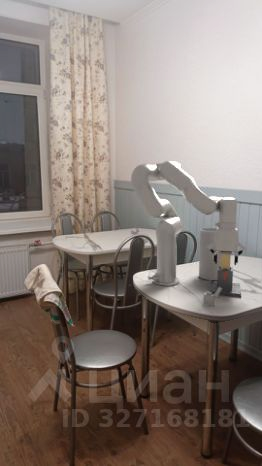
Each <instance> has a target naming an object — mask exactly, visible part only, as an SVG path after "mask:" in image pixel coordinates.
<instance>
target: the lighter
mask: <svg viewBox="0 0 262 466" xmlns="http://www.w3.org/2000/svg"><path fill="white" fill-rule="evenodd" d="M221 290H222V288H220V287H219V288H218V289H217V291H216V293H215V294H212V292H208V291H206V292H204V293H203V303H202V304H203V305H206V306H213V307H214V305H215V299H216V298H217V297H218V296H220V295H219V293H220V291H221Z"/></svg>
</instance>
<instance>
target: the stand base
mask: <svg viewBox="0 0 262 466" xmlns="http://www.w3.org/2000/svg"><path fill="white" fill-rule="evenodd" d="M233 279H234V267H233V266H230V270H228V269H225V268H223V270H221V266H218V275H217V280H216V281H214V280H209V283H208V291H207V292H212V294H215V293H216V291H217V289H218V288H219V287H220V288H222V290H221V291H220V293H219V295H218V296H224V297H236V298H242V289H241V283H236V282H233Z"/></svg>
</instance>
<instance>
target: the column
mask: <svg viewBox="0 0 262 466" xmlns="http://www.w3.org/2000/svg"><path fill="white" fill-rule="evenodd" d="M220 254H221V270H223V268H225V269H228V270H230V267H231V258H232V257H231V255H232V254H233V252H227V251H221V253H220Z"/></svg>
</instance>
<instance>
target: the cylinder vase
mask: <svg viewBox="0 0 262 466" xmlns="http://www.w3.org/2000/svg"><path fill="white" fill-rule="evenodd" d="M217 228H218V227H202V228H200V230H199V254H198V255H199V259H198V260H199V261H198V262H199V263H198V276H199V278H201V279H203V280H207V281H217V275H218V266H221V254H220V253H221V251H218V253H217V264H215V262H214V255H213V253H212V252H211V251H210V250H209V248H208V247H207V246H208V245H209V244H210V243H212V242H214V241H215V235H216V230H217ZM211 247H212V249H213V250H214V251H215V245H213V246H211Z"/></svg>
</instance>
